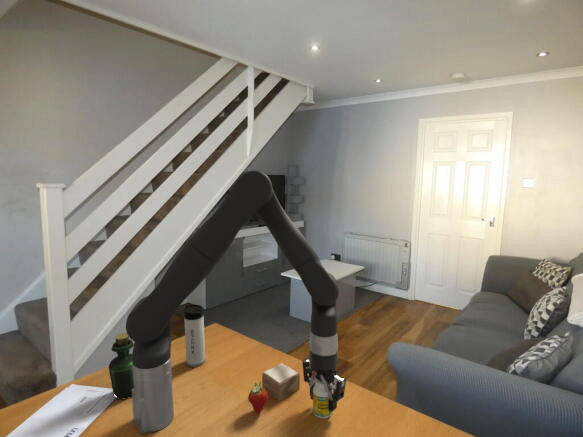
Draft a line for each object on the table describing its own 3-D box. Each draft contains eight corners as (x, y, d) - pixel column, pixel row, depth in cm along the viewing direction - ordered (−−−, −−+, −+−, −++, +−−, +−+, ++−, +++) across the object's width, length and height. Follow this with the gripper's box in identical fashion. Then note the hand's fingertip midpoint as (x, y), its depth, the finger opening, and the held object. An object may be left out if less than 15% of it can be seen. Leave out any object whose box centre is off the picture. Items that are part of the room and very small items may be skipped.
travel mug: (196, 355, 123) (194, 301, 120) (208, 361, 119) (207, 306, 116) (181, 362, 118) (179, 307, 115) (194, 369, 114) (191, 312, 111)
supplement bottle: (328, 404, 97) (329, 373, 96) (335, 417, 92) (335, 384, 91) (310, 407, 96) (310, 375, 95) (315, 420, 91) (316, 387, 90)
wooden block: (279, 401, 99) (279, 384, 98) (262, 388, 104) (262, 372, 104) (299, 389, 104) (299, 372, 103) (282, 377, 110) (282, 362, 109)
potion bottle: (142, 396, 100) (138, 338, 98) (110, 405, 97) (106, 345, 94) (139, 381, 108) (136, 327, 105) (110, 389, 104) (106, 333, 101)
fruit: (255, 402, 98) (254, 376, 97) (271, 408, 96) (271, 381, 95) (245, 414, 93) (244, 387, 92) (262, 420, 91) (261, 392, 90)
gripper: (295, 342, 95) (294, 397, 97) (335, 363, 84) (334, 425, 87) (313, 333, 100) (313, 386, 102) (354, 352, 89) (352, 411, 92)
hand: (322, 404), depth 94 cm, fingers open, 6 cm apart
